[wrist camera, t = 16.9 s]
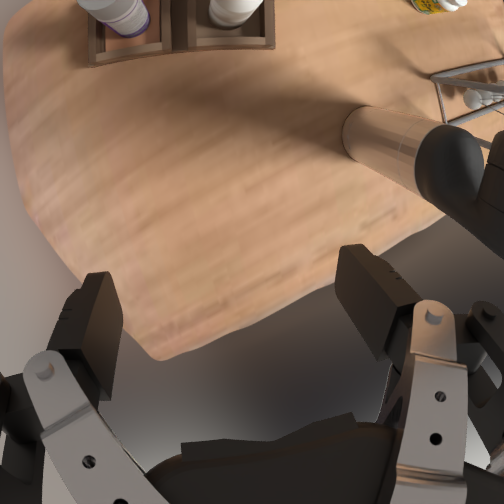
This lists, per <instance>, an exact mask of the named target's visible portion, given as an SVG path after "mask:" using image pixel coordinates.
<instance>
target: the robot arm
mask: <svg viewBox="0 0 504 504" xmlns="http://www.w3.org/2000/svg"><path fill="white" fill-rule="evenodd" d="M342 140H343V145H344V147H345V150H346V152H347V153H348V154H349V156H350V157H352V158H353V159H354V160H356V161H358V162H360V163H361V164H363V165H365V166H367V167H369V168H371V169H372V170H374V171H376V172H378V173H380V174H382V175H383V176H385V177H387V178H389V179H391V180H392V181H394V182H396V183H398V184H399V185H401V186H403V187H405V188H406V189H408V190H410V191H412V192H413V193H415V194H417V195H418V196H420V197H422V198H423V199H425V200H427V201H428V202H430V203H431V204H433V205H434V206H435V207H437V208H438V209H439V210H441V211H442V212H444V213H445V214H447V215H448V216H450V217H451V218H452V219H454V220H455V221H456V222H458V223H459V224H460V225H462V226H463V227H464V228H465V229H467V230H468V231H469V232H470V233H471V234H473V235H474V236H475V237H476V238H477V239H478V240H480V241H481V242H482V243H483V244H484V245H485V246H487V247H488V248H489V249H490V250H492V251H493V252H494V253H495V254H496V255H498V256H499V257H500V258H502V259H504V130H503V131H500V132H498V133H497V134H496V135H495V137H494V139H493V142H492V145H491V148H490V152H489V155H488V159H487V163H488V164H486V166H485V170H484V159H483V154H482V150H481V148H480V145H479V143H478V142H477V140H476V139H475V137H474V136H473V135H472V134H470V133H469V132H468V131H466V130H464V129H462V128H459V127H456V126H452V125H449V124H445V123H442V122H438V121H434V120H430V119H426V118H422V117H418V116H414V115H410V114H405V113H401V112H396V111H391V110H387V109H382V108H376V107H370V106H365V107H360V108H358V109H356V110H354V111H353V112H352V113H351V114H350V115H349V116H348V118H347V119H346V121H345V123H344V126H343V131H342ZM335 292H336V295H337V298H338V299H339V301H340V303H341V304H342V306H343V307H344V309H345V311H346V312H347V313H348V315H349V317H350V318H351V320H352V322H353V323H354V325H355V326H356V328H357V330H358V331H359V333H360V334H361V336H362V337H363V339H364V341H365V342H366V344H367V346H368V347H369V349H370V350H371V352H372V354H373V355H374V357H375V359H376V360H377V362H378V361H382V360H385V359H389V358H390V359H391V361H392V364H391V366H390V369H389V374H388V379H387V383H386V388H385V392H384V397H383V401H382V405H381V409H380V413H379V415H378V418H377V420H376V422H375V423H372V422H356V420H355V418H354V416H353V413H352V412H349V413H346V414H343V415H339V416H335V417H332V418H328V419H324V420H321V421H317V422H313V423H311V424H309V425H307V426H305V427H303V428H301V429H299V430H297V431H295V432H293V433H291V434H288V435H286V436H284V437H282V438H280V439H278V440H275V441H270V442H265V441H263V442H262V441H245V440H231V439H219V440H210V441H199V442H188V443H187V442H186V443H181V452H182V454H179V455H176V456H173V457H171V458H169V459H166V460H164V461H163V462H161V463H159V464H157V465H156V466H155V467H153V468H152V469H150V470H149V471H148V472H146V471H145V470H144V469H143V468H142V467H141V465H140V464H139V463H138V462H137V461H136V460H135V459H134V457H133V456H132V455H131V454H130V453H129V451H128V450H127V449H126V448H125V446H124V445H123V444H122V443H121V441H120V440H119V439H118V437H117V436H116V435H115V433H114V432H113V431H112V429H111V428H110V427H109V425H108V424H107V422H106V421H105V420H104V418H103V417H102V415H101V414H100V412H99V411H98V405H99V401H111V397H112V389H113V382H114V375H115V368H116V361H117V355H118V349H119V343H120V338H121V332H122V327H123V312H122V308H121V305H120V302H119V299H118V295H117V292H116V289H115V286H114V283H113V279H112V276H111V274H110V273H109V272H108V271H106V272H97V273H88V274H87V276H86V278H85V280H84V282H83V285H82V287H81V289H76V290H75V291H74V292H73V293H72V294H71V295H70V296H69V297H68V298H67V300H66V302H65V304H64V307H63V309H62V312H61V313H60V316H59V320H58V321H57V323H56V325H55V328H54V330H53V333H52V336H51V338H50V341H49V343H48V346H47V349H46V351H42V352H40V353H38V354H36V355H34V356H33V357H32V358H31V359H30V360H29V361H28V362H27V364H26V365H25V368H24V370H23V373H20V374H16V375H12V376H9V377H5V378H4V376H3V375H2V374H1V372H0V436H1V431H3V432H4V433H6V440H5V446H4V451H3V458H2V465H0V504H42V483H43V468H44V467H43V466H44V456H45V448H46V450H47V452H48V454H49V456H50V458H51V460H52V462H53V464H54V465H55V467H56V469H57V471H58V473H59V474H60V476H61V478H62V480H63V482H64V483H65V485H66V487H67V488H68V490H69V491H70V493H71V495H72V496H73V498H74V499H75V501H76V503H77V504H504V314H503V313H502V311H501V310H500V309H499V308H498V307H496V306H495V305H493V304H491V303H489V302H486V301H477V302H475V303H474V304H473V305H472V307H471V310H470V312H469V314H453V313H452V312H451V310H450V309H448V307H446V306H445V305H443V304H442V303H439V302H437V301H432V300H423V299H422V298H421V297H420V296H419V295H418V294H417V293H416V292H415V291H414V290H413V289H412V288H411V286H410V285H409V284H408V283H407V282H406V281H405V280H404V279H402V277H401V276H400V275H399V274H398V273H397V272H395V270H394V268H393V267H392V266H391V265H390V264H389V263H388V262H387V261H385V260H383V259H381V258H379V257H378V256H376V255H373V254H372V253H371V252H370V251H369V250H368V249H367V248H366V247H365V246H364V245H363V244H354V245H345V246H342V247H341V248H340V251H339V257H338V264H337V271H336V277H335ZM487 354H488V355H489V356H490V358H491V359H492V360H493V362H494V363H495V365H496V366H497V367H498V369H499V370H500V372H501V374H502V383H501V386H500V387H499V388H498V389H497V388H496V386H495V385H494V383H493V382H492V380H491V379H490V377H489V376H488V374H487V373H486V372H485V370H484V369H483V367H482V366H481V363H482V361H483V360H484V358H485V357H486V355H487ZM467 414H468V416H469V418H470V419H471V421H472V423H473V425H474V427H475V428H476V430H477V432H478V434H479V436H480V438H481V439H482V441H483V443H484V445H485V447H486V449H487V451H488V453H489V455H490V464H488V465H487V467H486V470H484V469H482V468H479V467H477V466H474V465H472V464H469V463H467V462H465V461H464V457H465V447H466V434H467V433H466V432H467Z"/></svg>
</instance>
